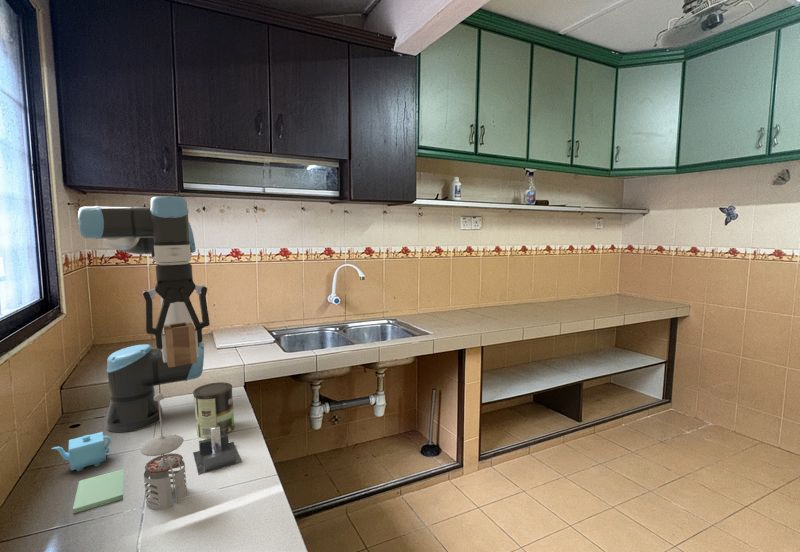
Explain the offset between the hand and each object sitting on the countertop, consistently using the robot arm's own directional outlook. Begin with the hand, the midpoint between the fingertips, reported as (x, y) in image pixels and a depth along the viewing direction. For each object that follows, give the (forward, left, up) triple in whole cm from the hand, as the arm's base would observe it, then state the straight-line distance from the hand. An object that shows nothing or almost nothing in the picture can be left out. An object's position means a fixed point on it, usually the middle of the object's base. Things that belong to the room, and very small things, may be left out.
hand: (181, 358), depth 101 cm
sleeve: (0, 0, -1) cm, 1 cm away
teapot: (-17, -23, -29) cm, 41 cm away
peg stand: (+1, +6, -29) cm, 29 cm away
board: (-1, -18, -29) cm, 34 cm away
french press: (+13, -5, -29) cm, 32 cm away
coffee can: (-15, +8, -29) cm, 34 cm away
